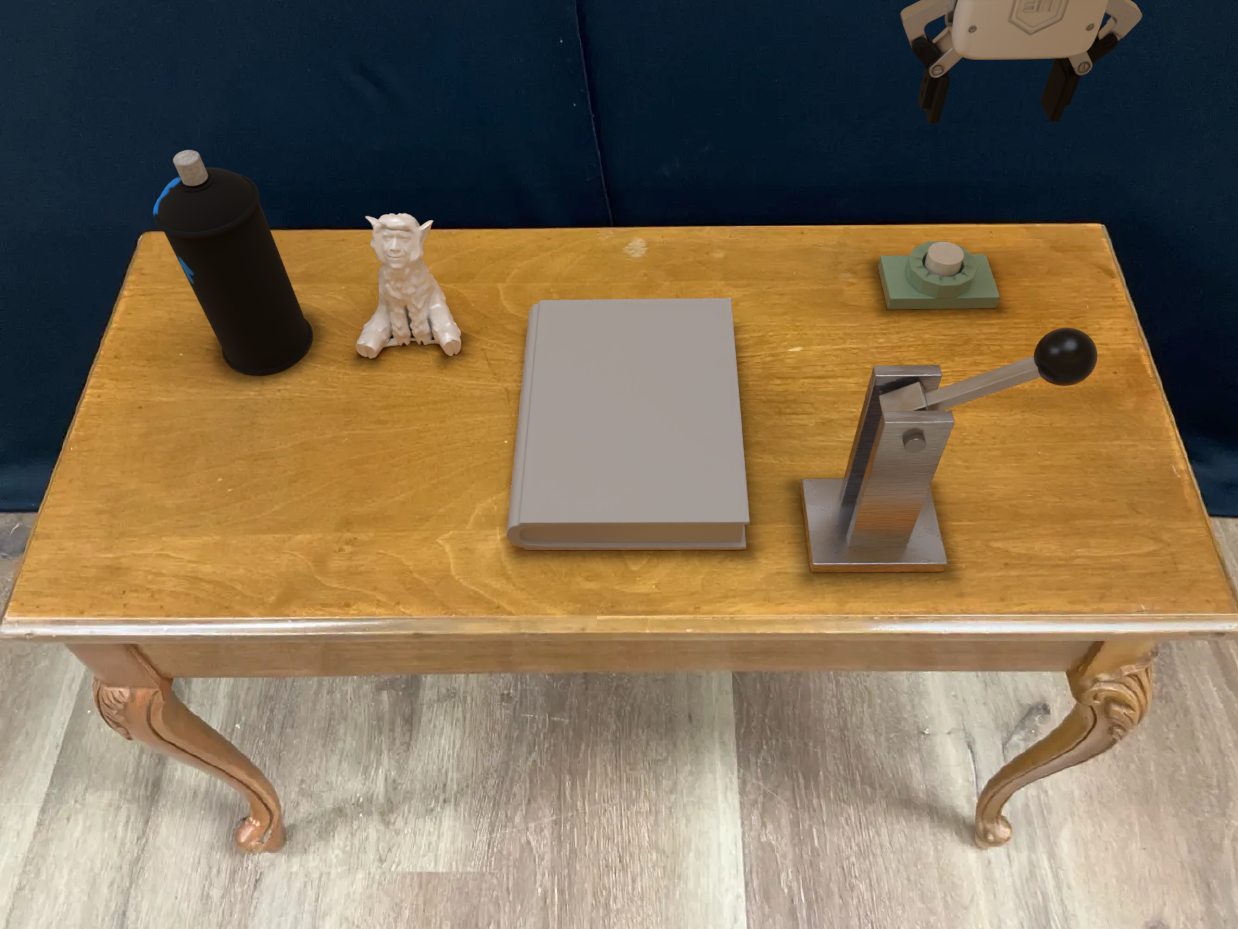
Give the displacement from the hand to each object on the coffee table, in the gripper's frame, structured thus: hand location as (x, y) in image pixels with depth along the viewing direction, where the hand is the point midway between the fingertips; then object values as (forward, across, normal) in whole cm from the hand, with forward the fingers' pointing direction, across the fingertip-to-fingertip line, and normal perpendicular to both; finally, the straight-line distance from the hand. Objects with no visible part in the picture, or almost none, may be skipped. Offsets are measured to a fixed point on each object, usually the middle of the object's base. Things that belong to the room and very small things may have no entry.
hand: (989, 113), depth 77 cm
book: (+19, -29, -17) cm, 38 cm away
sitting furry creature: (+19, -49, -4) cm, 53 cm away
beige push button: (+16, 0, 0) cm, 16 cm away
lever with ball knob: (+3, -5, -27) cm, 28 cm away
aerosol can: (+19, -62, -6) cm, 65 cm away
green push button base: (+18, 0, 0) cm, 18 cm away
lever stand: (+18, -10, -27) cm, 34 cm away
